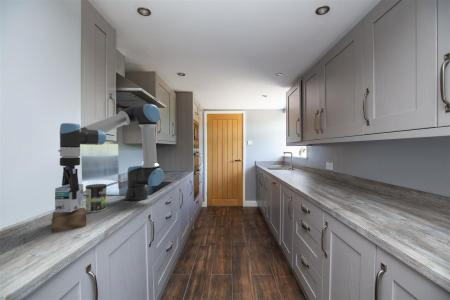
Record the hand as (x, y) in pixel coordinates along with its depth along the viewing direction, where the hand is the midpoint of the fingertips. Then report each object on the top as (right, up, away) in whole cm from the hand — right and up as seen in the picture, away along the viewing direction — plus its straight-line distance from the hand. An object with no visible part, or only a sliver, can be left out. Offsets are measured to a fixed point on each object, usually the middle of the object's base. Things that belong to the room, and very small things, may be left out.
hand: (69, 203), depth 94 cm
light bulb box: (0, -3, 0) cm, 3 cm away
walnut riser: (0, -10, 0) cm, 10 cm away
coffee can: (-3, -10, +23) cm, 25 cm away
